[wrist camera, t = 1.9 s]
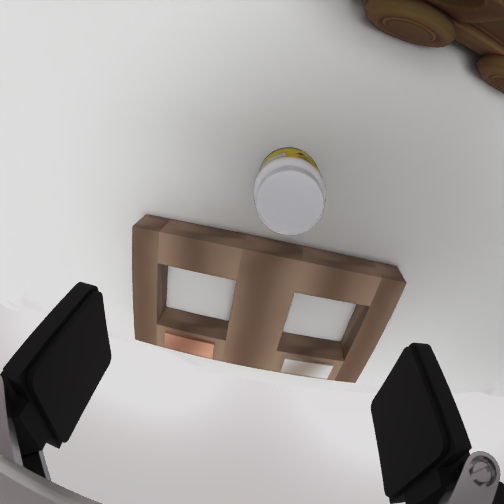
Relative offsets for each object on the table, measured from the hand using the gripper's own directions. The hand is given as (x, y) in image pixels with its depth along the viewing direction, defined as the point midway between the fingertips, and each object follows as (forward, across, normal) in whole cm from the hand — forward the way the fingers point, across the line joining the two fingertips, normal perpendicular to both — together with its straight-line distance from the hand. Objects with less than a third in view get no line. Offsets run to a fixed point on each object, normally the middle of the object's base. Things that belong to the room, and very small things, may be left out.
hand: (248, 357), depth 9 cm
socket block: (+19, -1, +11) cm, 22 cm away
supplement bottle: (+20, -1, -1) cm, 20 cm away
